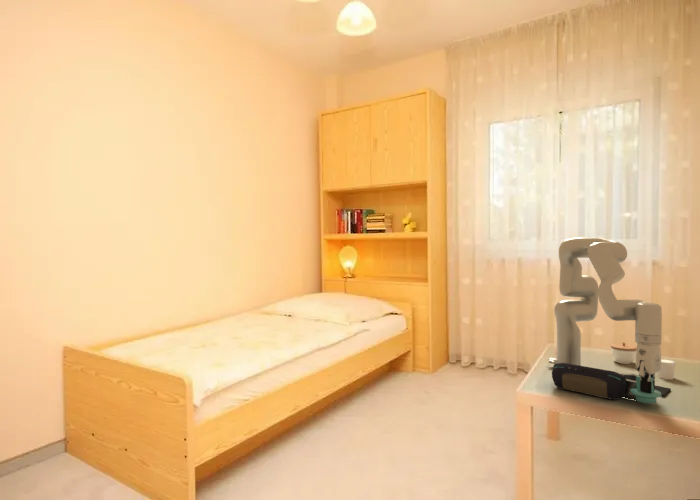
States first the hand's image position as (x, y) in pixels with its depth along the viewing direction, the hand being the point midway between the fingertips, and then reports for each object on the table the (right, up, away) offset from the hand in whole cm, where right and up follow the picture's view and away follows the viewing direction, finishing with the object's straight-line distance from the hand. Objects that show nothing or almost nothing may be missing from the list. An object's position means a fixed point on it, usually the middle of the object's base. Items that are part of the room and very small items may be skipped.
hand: (647, 391), depth 150 cm
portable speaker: (-13, -6, +14) cm, 20 cm away
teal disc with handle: (0, -3, 0) cm, 3 cm away
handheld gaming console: (+14, -6, +17) cm, 22 cm away
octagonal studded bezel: (+2, -6, +10) cm, 12 cm away
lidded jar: (+27, -5, +56) cm, 62 cm away
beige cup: (+30, -5, +33) cm, 45 cm away
